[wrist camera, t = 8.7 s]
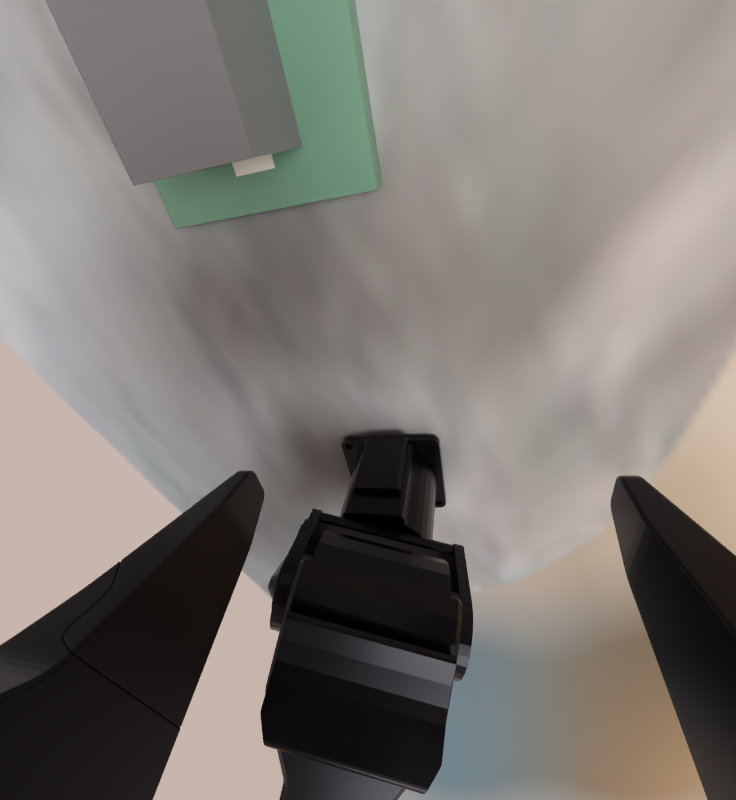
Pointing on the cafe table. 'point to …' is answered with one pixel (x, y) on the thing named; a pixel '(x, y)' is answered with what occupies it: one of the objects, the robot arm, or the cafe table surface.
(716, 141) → the cafe table surface
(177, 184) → the board
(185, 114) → the plug housing
